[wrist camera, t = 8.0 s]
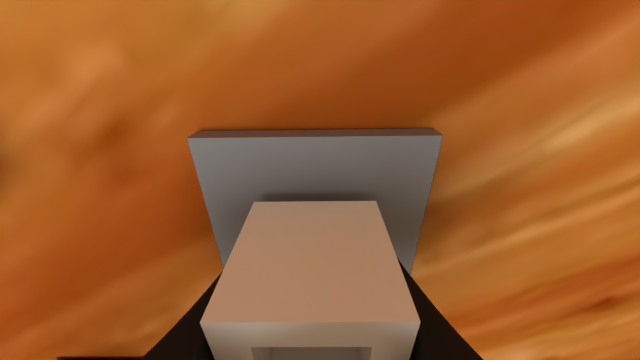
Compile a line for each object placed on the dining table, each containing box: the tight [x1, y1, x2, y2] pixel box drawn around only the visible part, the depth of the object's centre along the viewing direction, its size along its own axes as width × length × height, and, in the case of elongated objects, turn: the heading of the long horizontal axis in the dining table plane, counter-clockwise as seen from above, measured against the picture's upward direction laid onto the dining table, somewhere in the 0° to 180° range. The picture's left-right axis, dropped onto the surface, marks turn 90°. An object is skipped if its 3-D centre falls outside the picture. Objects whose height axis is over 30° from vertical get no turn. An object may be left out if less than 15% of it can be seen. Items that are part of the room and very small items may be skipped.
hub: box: [200, 201, 420, 360], centre depth 9 cm, size 5×5×5 cm
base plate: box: [187, 128, 443, 274], centre depth 11 cm, size 10×10×4 cm
